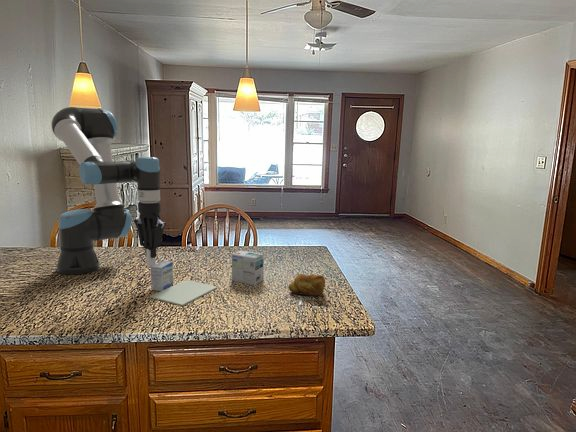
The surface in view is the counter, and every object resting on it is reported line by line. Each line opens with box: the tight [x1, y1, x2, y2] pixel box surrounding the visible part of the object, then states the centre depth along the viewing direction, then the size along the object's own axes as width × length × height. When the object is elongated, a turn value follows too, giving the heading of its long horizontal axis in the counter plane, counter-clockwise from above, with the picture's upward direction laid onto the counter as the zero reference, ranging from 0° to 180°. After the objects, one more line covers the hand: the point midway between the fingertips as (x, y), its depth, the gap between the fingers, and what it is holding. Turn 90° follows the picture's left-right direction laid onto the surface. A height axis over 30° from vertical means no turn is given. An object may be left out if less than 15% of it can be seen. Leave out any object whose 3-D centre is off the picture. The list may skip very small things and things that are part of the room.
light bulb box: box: [231, 250, 265, 286], centre depth 158 cm, size 11×7×11 cm, turn 65°
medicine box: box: [150, 260, 174, 292], centre depth 148 cm, size 8×4×9 cm, turn 167°
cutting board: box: [149, 279, 218, 307], centre depth 144 cm, size 14×19×1 cm
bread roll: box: [288, 273, 326, 297], centre depth 148 cm, size 13×10×8 cm
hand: (151, 265), depth 149 cm, fingers closed
